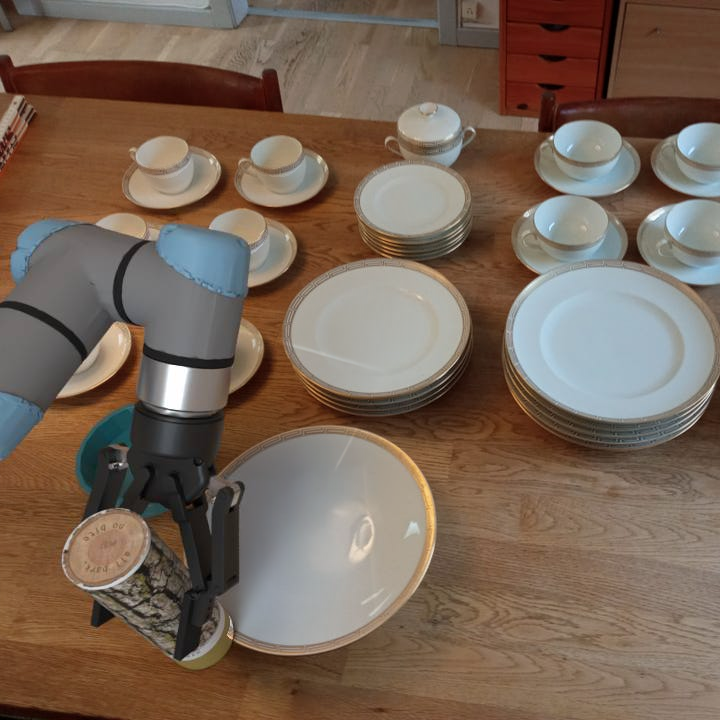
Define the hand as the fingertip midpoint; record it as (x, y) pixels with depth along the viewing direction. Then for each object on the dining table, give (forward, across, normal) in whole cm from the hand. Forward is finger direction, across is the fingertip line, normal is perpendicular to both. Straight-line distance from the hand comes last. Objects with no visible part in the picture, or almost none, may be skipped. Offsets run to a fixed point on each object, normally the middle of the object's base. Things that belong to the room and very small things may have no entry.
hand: (144, 635), depth 68 cm
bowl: (-5, +18, -22) cm, 29 cm away
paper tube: (+6, 0, -11) cm, 12 cm away
